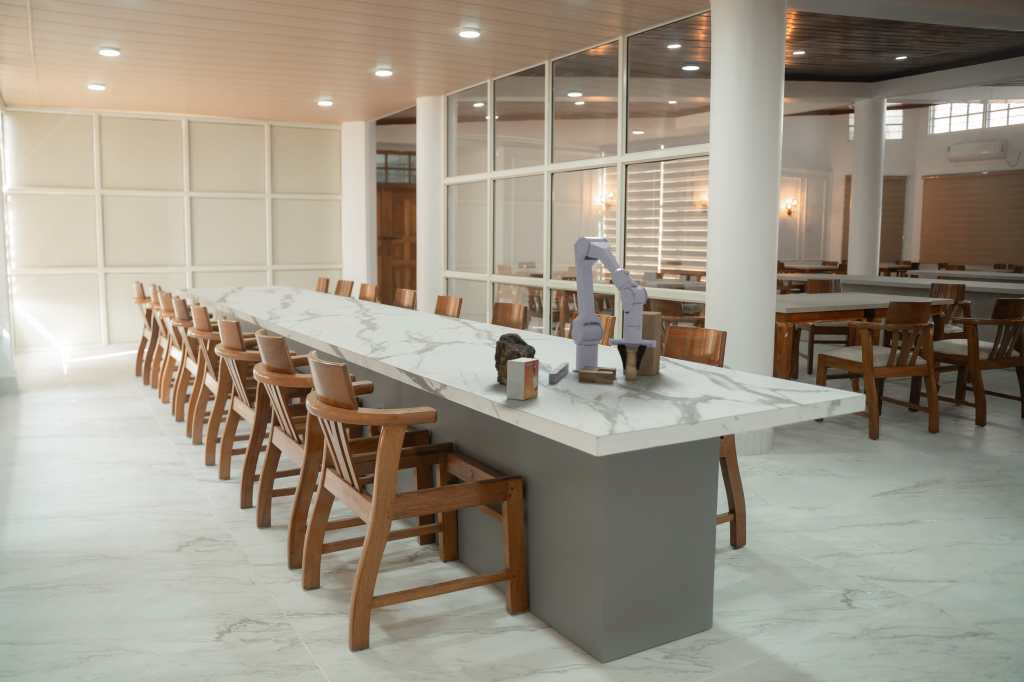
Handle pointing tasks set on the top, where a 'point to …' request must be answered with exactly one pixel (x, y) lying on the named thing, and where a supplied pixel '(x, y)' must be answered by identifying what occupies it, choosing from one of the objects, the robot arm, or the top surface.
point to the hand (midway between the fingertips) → (631, 369)
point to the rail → (558, 373)
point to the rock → (510, 353)
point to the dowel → (631, 365)
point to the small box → (522, 378)
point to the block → (597, 374)
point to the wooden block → (652, 354)
